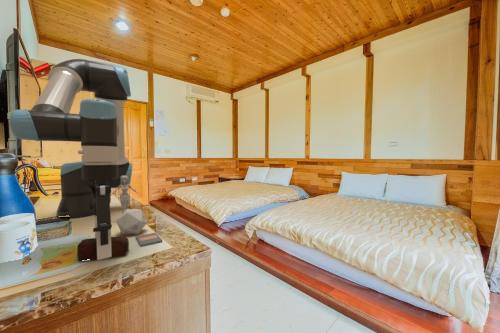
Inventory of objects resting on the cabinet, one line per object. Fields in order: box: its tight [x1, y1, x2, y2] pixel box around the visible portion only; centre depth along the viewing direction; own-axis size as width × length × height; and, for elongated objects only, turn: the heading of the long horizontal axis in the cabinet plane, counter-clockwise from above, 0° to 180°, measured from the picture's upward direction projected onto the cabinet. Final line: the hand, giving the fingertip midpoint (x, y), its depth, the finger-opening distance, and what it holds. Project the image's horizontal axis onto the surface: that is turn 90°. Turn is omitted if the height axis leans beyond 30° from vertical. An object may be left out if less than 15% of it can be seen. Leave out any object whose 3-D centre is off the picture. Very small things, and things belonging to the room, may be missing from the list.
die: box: [115, 208, 148, 235], centre depth 74 cm, size 8×9×10 cm
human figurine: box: [110, 176, 142, 215], centre depth 87 cm, size 12×4×18 cm, turn 123°
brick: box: [76, 235, 130, 262], centre depth 57 cm, size 11×4×5 cm, turn 110°
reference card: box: [135, 232, 163, 248], centre depth 68 cm, size 8×6×1 cm
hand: (102, 248), depth 55 cm, fingers open, 13 cm apart
